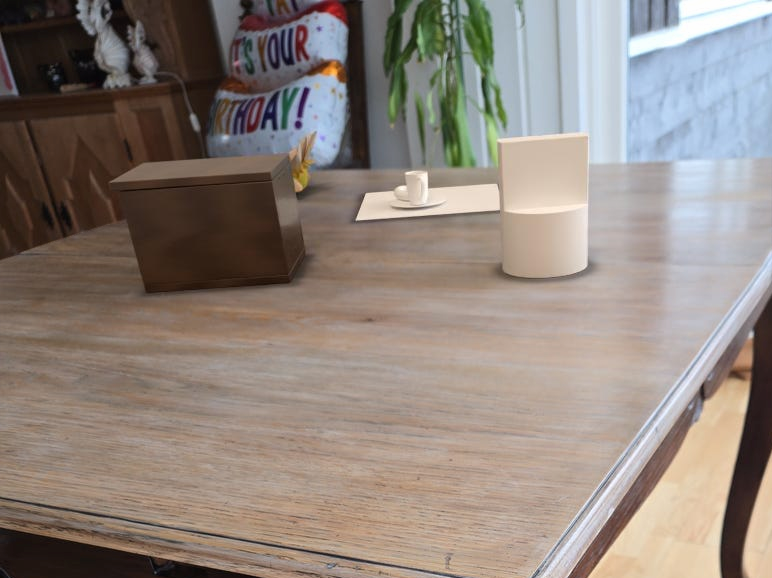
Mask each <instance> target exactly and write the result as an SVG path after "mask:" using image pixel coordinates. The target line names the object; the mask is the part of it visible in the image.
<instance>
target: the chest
mask: <svg viewBox="0 0 772 578" xmlns="http://www.w3.org/2000/svg"><path fill="white" fill-rule="evenodd" d="M118 195H119V200H120V202H121V207H122V210H123V213H124V217H125V221H126V225H127V229H128V233H129V235H130V240H131V243H132V247H133V251H134V254H135V258H136V262H137V265H138V269H139V272H140V276H141V280H142V284H143V288H144V292H145V293H160V292H175V291H188V290H189V291H191V290H204V289H218V288H234V287H245V286H246V287H247V286H260V285H261V286H263V285H275V284H290V283H291V282H292V280H293V278H294V276H295V275H296V273H297V271H298V270H299V267H300V265H301V264H302V262H303V260H304V259H305V257H306V255H307V251H306V245H305V240H304V234H303V228H302V223H301V221H302V220H301V216H300V209H299V204H298V197H297V193H296V191H295V185H294V179H293V173H292V167H291V162H289V163H288V164H287V165H286V166H285V167H284V168H283V169H282V170H281V171H280V172H279V173H278V174H277V175H276V176H275V177H274V178H273V179H272V180H270V181H255V182H241V183H226V184H211V185H196V186H181V187H166V188H151V189H137V190H122V191H118Z"/></svg>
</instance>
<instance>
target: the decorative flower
mask: <svg viewBox="0 0 772 578" xmlns="http://www.w3.org/2000/svg"><path fill="white" fill-rule="evenodd" d="M317 134H318V131H317V130H314V131H313V133H312V134H311V135H310V130H308V131H307V133H306V135H304V136H302V137H301V139H300V141H299V143H298V145H297V146H296V147H295V148H292V149H291V150H290V152H288V153H289V155H290V162H291V167H292V173H293V179H294V185H295V191H296V194H299V193H300V192H302V191H303V190H304V189H305V188H307V185H308V181H309V180H308V179H310V180H311V181H313V179H312V178H311V176H310V175H309V173H308V172H309V171H308V169H309V168H311V165H313V164H314V163H316V161H317V160H316V159H314V158H309V157H310V155H311V153H312V150H313V148H314V145H315V141H316V138H317Z"/></svg>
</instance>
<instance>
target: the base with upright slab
mask: <svg viewBox="0 0 772 578" xmlns="http://www.w3.org/2000/svg"><path fill="white" fill-rule="evenodd" d="M496 144H497V145H496V149H497V153H496V154H497V171H498V172H497V174H498V176H497V177H498V189H499V200H500V210H499V219H500V220H499V221H500V223H499V224H500V242H501V243H500V244H501V267H502V268H501V269H502V270H501V271H503V272H504V273H505V274H507V275H509V276H513V277H519V278H527V279H546V278H547V279H549V278H556V277H557V278H558V277H559V278H560V277H565V276H569V275H574V274H576V273H579V272H581V271H584V270H585V269H586V268H587V267H588V261H589V260H588V259H589V258H588V257H589V256H588V253H589V252H588V251H589V250H588V249H589V248H588V247H589V244H588V243H589V234H588V233H589V170H590V169H589V163H590V162H589V160H590V156H589V155H590V135H589V133H588V132H584V131H580V132H578V131H577V132H567V133H566V132H565V133H554V134H541V135H529V136H528V135H527V136H517V137H503V138H497V139H496Z"/></svg>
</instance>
